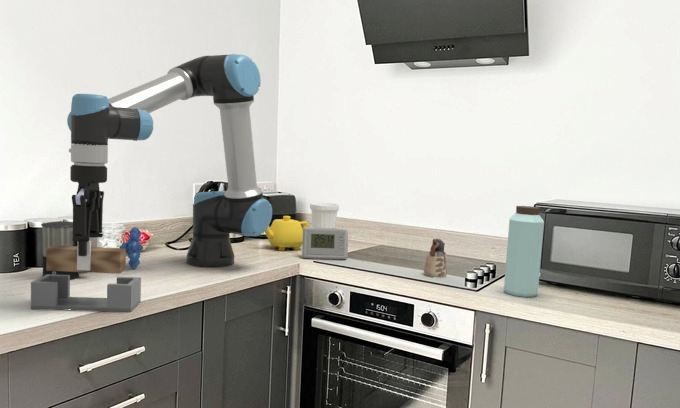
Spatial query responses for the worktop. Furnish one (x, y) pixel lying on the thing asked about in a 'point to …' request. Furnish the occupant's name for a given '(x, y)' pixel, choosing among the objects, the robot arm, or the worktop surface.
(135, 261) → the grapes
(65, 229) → the milk frother
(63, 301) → the rail
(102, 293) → the worktop surface
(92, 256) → the slat
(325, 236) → the digital clock
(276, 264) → the worktop surface
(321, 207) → the cup
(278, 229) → the teapot
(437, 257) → the figurine
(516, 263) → the water bottle
